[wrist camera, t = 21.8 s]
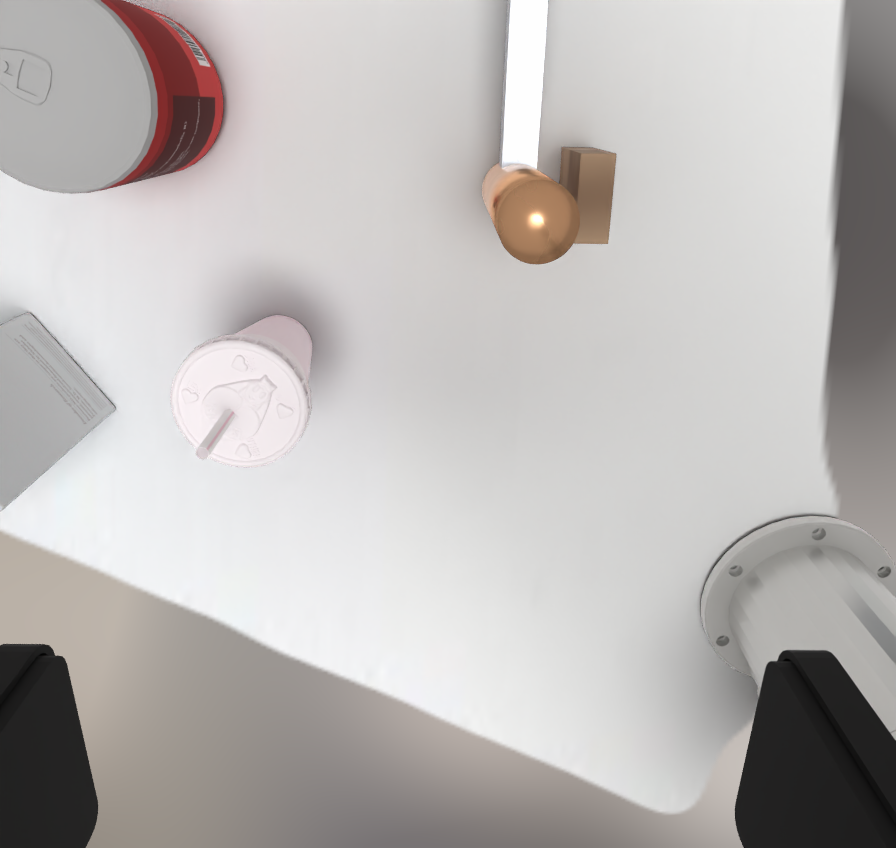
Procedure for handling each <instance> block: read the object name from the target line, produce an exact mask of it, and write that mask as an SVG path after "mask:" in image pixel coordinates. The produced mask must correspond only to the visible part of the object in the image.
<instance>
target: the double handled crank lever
mask: <svg viewBox="0 0 896 848" xmlns="http://www.w3.org/2000/svg"><path fill="white" fill-rule="evenodd" d="M547 13H548V0H507V19H506V39H505V59H504V78H503V98H502V118H501V137H500V157H499V163H497V164H495V165H494V166H493V167H492V168H491V169H490V170H489V171H488V173H487V174H486V176H485V178H484V181H483V185H482V196H483V200H484V203H485V205H486V207H487V210H488V212H489V214H490V217H491V219H492V221H493V224H494V226H495V228H496V231H497V233H498V235H499V238H500V240H501V242H502V244H503V246H504V247H505V249H506V250H507V251H508V252H509V253H510V254H511V255H512V256H513V257H515V258H516V259H518V260H520V261H522V262H525V263H529V264H544V263H548V262H552V261H554V260H556V259H558V258H559V257H561V256H562V255H563V254H565V253H566V252H567V251H568V250H569V249H570V247H571V246H572V245H573V243H574V241H575V239H576V237H577V235H578V231H579V226H580V213H579V209H578V206H577V203H576V201H575V199H574V197H573V196H572V195H571V193H570V192H569V191H568V190H567V189H566V188H564V187H563V186H562V185H560V184H559V183H557V182H555V181H554V180H552V179H551V178H549V177H548V176H546V175H545V174H543V173H542V172H540V171H539V170H537V158H538V143H539V129H540V115H541V100H542V86H543V71H544V57H545V42H546V28H547Z"/></svg>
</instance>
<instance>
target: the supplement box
mask: <svg viewBox="0 0 896 848" xmlns="http://www.w3.org/2000/svg"><path fill="white" fill-rule="evenodd" d="M113 411H115V407H114V406H113V405H112V403H111V402H110V401H109V400H108V399H107V398H106V397H105V395H104V394H103V393H102V392H101V391H100V390H99V389H98V388H97V386H96V385H95V384H94V383H93V382H92V381H91V380H90V379H89V377H88V376H87V375H86V374H85V373H84V372H83V371H82V369H81V368H80V367H79V366H78V365H77V364H76V363H75V362H74V360H73V359H72V358H71V357H70V356H69V355H68V354H67V353H66V351H65V350H64V349H63V348H62V347H61V346H60V345H59V344H58V343H57V341H56V340H55V339H54V338H53V337H52V336H51V335H50V334H49V333H48V332H47V330H46V329H45V328H44V327H43V326H42V325H41V324H40V323H39V322H38V321H37V320H36V319H35V318H34V317H33V316H32V315H31V314H30V313H25V314H23V315H20V316H18V317H16V318H14V319H12V320H10V321H8V322H6V323H4V324H2V325H0V511H2V510H3V509H4V508H5V507H7V506H8V505H9V504H10V503H11V502H12V501H13V500H14V499H16V498H17V497H18V496H19V495H20V494H21V493H22V492H23V491H24V490H26V489H27V488H28V487H29V486H30V485H31V484H32V483H34V482H35V481H36V480H37V479H38V478H39V477H40V476H41V475H42V474H44V473H45V472H46V471H47V470H48V469H49V468H50V467H51V466H52V465H54V464H55V463H56V462H57V461H58V460H59V459H60V458H61V457H63V456H64V455H65V454H66V453H67V452H68V451H69V450H70V449H71V448H73V447H74V446H75V445H76V444H77V443H78V442H79V441H80V440H82V439H83V438H84V437H85V436H86V435H87V434H88V433H89V432H90V431H92V430H93V429H94V428H95V427H96V426H97V425H98V424H100V423H101V422H102V421H103V420H104V419H105V418H106V417H107V416H108V415H110V414H111V413H112V412H113Z"/></svg>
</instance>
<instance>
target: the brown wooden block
mask: <svg viewBox="0 0 896 848" xmlns="http://www.w3.org/2000/svg"><path fill="white" fill-rule="evenodd" d="M615 163H616V154H615V153H611V152H607V151H604V150H600V149H596V148H588V147H562V152H561V167H560V182H559V184H560V185H562V186H563V187H564V188H566V189H567V190H568V191H569V192H570V193H571V195H572V196H573V197H574V199H575V201H576V203H577V206H578V209H579V213H580V226H579V231H578V235H577V237H576V239H575V241H574V243H578V244H608V239H609V228H610V218H611V207H612V196H613V185H614V174H615Z"/></svg>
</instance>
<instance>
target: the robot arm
mask: <svg viewBox="0 0 896 848" xmlns="http://www.w3.org/2000/svg"><path fill="white" fill-rule="evenodd" d="M701 618H702V624H703V628H704V630H705V632H706V635H707V637H708V639H709V641H710V643H711V645H712V646H713V648H714V650H715V651H716V653H717V654H718V655H719V656H720V657H721V658H722V659H723V660H724V661H725V662H726V663H727V664H728V665H729V666H731V667H732V668H734V669H735V670H737V671H739V672H740V673H743V674H745V675H748V676H750V677H753V678H754V680H755V682H756V684H757V686H758V690H757V696H758V704H757V708H756V713H755V717H754V722H753V726H752V731H751V736H750V741H749V745H748V749H747V754H746V759H745V763H744V768H743V772H742V777H741V781H740V786H739V791H738V795H737V799H736V805H735V820H736V826H737V831H738V834H739V837H740V840H741V842H742V845H743V847H744V848H896V567H895V564H894V562H893V560H892V558H891V557H890V555H889V554H888V552H887V551H886V549H884V547H883V546H882V545H881V544H880V543H879V542H878V541H877V540H876V539H875V538H874V537H872V536H871V535H870V534H869V533H867V532H866V531H865V530H863V529H862V528H860V527H858V526H856V525H854V524H852V523H849V522H847V521H844V520H840V519H836V518H831V517H821V516H805V517H796V518H789V519H786V520H782V521H779V522H775V523H772V524H769V525H767V526H765V527H763V528H761V529H758V530H756V531H754V532H752V533H751V534H749V535H748V536H746V537H745V538H743V539H742V540H740V541H739V542H737V543H736V544H735V545H734V546H733V547H732V548H731V549H730V550H729V551H727V552H726V553H725V554H724V555H723V557H722V558H721V559H720V560H719V562H718V563H717V564H716V566H715V567H714V568H713V570H712V572H711V574H710V576H709V578H708V580H707V582H706V584H705V587H704V591H703V594H702V598H701ZM97 814H98V800H97V796H96V791H95V788H94V783H93V779H92V774H91V769H90V765H89V760H88V756H87V751H86V747H85V742H84V738H83V734H82V729H81V725H80V720H79V716H78V711H77V708H76V703H75V698H74V694H73V689H72V685H71V680H70V676H69V671H68V667H67V663H66V661H65V659H64V658H63V657H62V656H55V654H54V651H53V649H52V648H51V647H50V646H49V645H45V644H3V645H0V848H86V846H87V844H88V842H89V840H90V837H91V835H92V833H93V830H94V828H95V825H96V821H97Z"/></svg>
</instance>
